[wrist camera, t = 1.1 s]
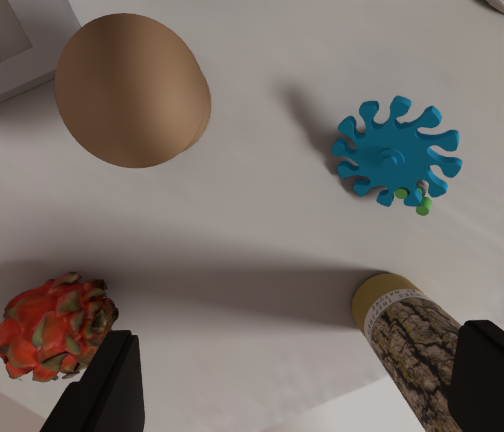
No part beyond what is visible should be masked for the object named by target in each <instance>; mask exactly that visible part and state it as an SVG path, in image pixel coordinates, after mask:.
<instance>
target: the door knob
mask: <svg viewBox="0 0 504 432" xmlns="http://www.w3.org/2000/svg"><path fill="white" fill-rule="evenodd" d="M54 85H55V96H56V101H57V106H58V109H59V112H60V115H61V117H62V119H63V121H64V123H65V125H66V127H67V128H68V130H69V132H70V133H71V134H72V136H73V137H74V138H75V139H76V141H77V142H78V143H79V144H80V145H81V146H82V147H83V148H85V149H86V150H87V151H88V152H90V153H91V154H92V155H94V156H96V157H97V158H99V159H101V160H103V161H105V162H108V163H110V164H113V165H117V166H121V167H126V168H146V167H151V166H156V165H158V164H161V163H164V162H166V161H168V160H170V159H172V158H173V157H175V156H176V155H178V154H179V153H181V152H183V151H184V150H186V149H188V148H189V147H191V146H192V145H193V144H194V143H195V142H196V141H197V140H198V139H199V138H200V137H201V135H202V134H203V132H204V131H205V129H206V126H207V124H208V121H209V118H210V112H211V96H210V91H209V87H208V85H207V82H206V80H205V78H204V76H203V74H202V72H201V70H200V67H199V65H198V63H197V61H196V59H195V57H194V55H193V54H192V52H191V51H190V49H189V48H188V46H187V45H186V44H185V43H184V42H183V40H182V39H181V38H180V37H179V36H178V35H177V34H175V33H174V32H173V31H172V30H171V29H169V28H168V27H166V26H165V25H163V24H161V23H159V22H157V21H156V20H153V19H151V18H148V17H145V16H141V15H136V14H127V13H120V14H111V15H106V16H103V17H100V18H97V19H94V20H93V21H91V22H89V23H87V24H85V25H84V26H83V27H82V28H80V29H79V30H78V31H77V32H76V33H75V34H74V35H73V36H72V37H71V38H70V39H69V41H68V42H67V44H66V45H65V47H64V49H63V51H62V53H61V55H60V57H59V60H58V63H57V67H56V72H55V84H54Z"/></svg>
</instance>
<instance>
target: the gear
mask: <svg viewBox="0 0 504 432" xmlns="http://www.w3.org/2000/svg"><path fill="white" fill-rule="evenodd" d="M410 106H411V101H410V100H409V99H407V98H405V97H401V96H396V97H395V98H394V99H393V101H392V103H391V105H390V117H389V119H388V120H387V121H386V122H385V123H384V124H377V123H375V122H374V119H373V117H374V116H375V115H376V113H377V111H378V110H379V104H378V102H377V101H367V102H363V103H362V105H361V106H360V108H359V114H360V115H361V117H362V118H363V120H364V122H365V125H366V134H360V133H358V132H357V130H356V120H355V118H354V117H353V116H348V117H347V118H345V119H344V120H343V121H342V122H341V123H340V124H339V126H338V130H339V131H340V132H341V133H342V134H345V135H346V136H348V137H349V138H350V139H351V140H352V141H353V143H354V144H355V146H356V148H357V149H355V150H354V149H351V148H350V147H349V146H348V144H347V142H346V141H345V140H344V139H342V138H338V139H337V141H336V142H335V144H334V145H333V147H332V151H331V153H332V154H333V155H335V156H344V157H348V158H350V159H352V160H353V161H355V162H356V163H357V164H358V165H359V166H354V165H352V164H351V163H349V162H347V161H342V162H340V164H339V166H338V174H339V176H340V177H341V178H347V177H349V176H352V175H360V176H365V177H368V178H369V179H370V181H367V180H362V179H360V180H357V181H356V182H355V184H354V186H353V189H354V191H355V192H356V193H357V194H358V195H359V196H364V195H366V193H367V192H368V190H370V189H371V188H373V187H377V186H385V187H387V188H388V189H387V190H383V191H381V192H380V193H379V195H378V197H377V200H376V201H377V202H378V203H380V204H382V205H384V206H387V207H389V206H390V205H391V203H392V201H393V199H394V192H395V196H396V197H397V198H400V199H404V204H405V205H406V206H417V208H416V212H417V214H419V215H422V216H425V215H427V214H428V213H429V210H430V207H431V204H432V201H431V199H430V198H428V197H424V196H425V194H426V191H427V185H426V183H425V181H427V182H428V183H429V189H428V193H429V195H430V196H431V197H438V196H440V195H443V194H445V193H446V191H447V187H448V186H447V183H446V182H445V181H443V180H441V179H439V178H438V177H436V176H435V175H434V174H433V172H432V171H431V169H430V165H438V166H439V167H440V168H441V169H442V172H443V174H444V175H445V176H447V177H450V178H453V177H454V176H456V175H457V173H458V172H459V170H460V168H461V166H462V160H460V159H459V158H455V157H445V156H441V155H439V154H437V153H436V152H434V151H433V150H431V149H430V146H432V145H437V146H440V147H441V148H442V149H444V150H446V151H455V150H456V149H457V146H458V143H459V133H458V131H457V130H449V131H447V132H445V133H442V134H438V135H427V134H421V133H420V132H418V130H417V128H419V127H426V128H434V127H436V126H438V125H439V124H440V122H441V119H442V116H441V114H440V112H439V111H438V110H437V109H436V108H435V107H434V106H430V107H428V108H426V109H425V111H424V112H423V114H422V115H421V116H420V117H419V118H418V119H416V120H414V121H412V122H409V123H408V122H404V123H402V124H400V123H399V122H397V120H396V118H397V117H400V116H403V115H405V114H406V113H407V112H408V110H409V108H410ZM424 180H425V181H424Z"/></svg>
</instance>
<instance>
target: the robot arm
mask: <svg viewBox="0 0 504 432" xmlns="http://www.w3.org/2000/svg"><path fill="white" fill-rule="evenodd" d="M486 1H487V2H488V3H489V4H490V5H491V6H493V7H494V8H496V9H497V10H499V11H500V12H503V13H504V0H486ZM447 406H448V411H449V413H450V415H451V417H452V418H453V419H454V421H455V422H456V423H457V425H458V426H459V427H460V429H461V430H462V431H463V432H504V331H503V330H502V329H500V328H499V327H498V326H497V325H495V324H494V323H493V322H491V321H489V320H468V321H466V322H465V323H464V326H461V327H460V328H459V332H458V339H457V345H456V351H455V357H454V363H453V369H452V376H451V382H450V388H449V394H448V400H447ZM144 423H145V411H144V399H143V387H142V374H141V362H140V350H139V339H138V336H137V335H132V333H131V331H130V330H114V331H108V333H107V334H106V336H105V338H104V339H103V341H102V343H101V345H100V346H99V348H98V350H97V352H96V353H95V355H94V357H93V358H92V360H91V362H90V364H89V365H88V367H87V369H86V371H85V372H84V374H83V376H82V377H81V379H80V381H79V382H72V383H70V384H69V385H68V386H67V388H66V389H65V391H64V392H63V394H62V396H61V397H60V399H59V401H58V402H57V404H56V405H55V407H54V409H53V410H52V412H51V414H50V415H49V417H48V418H47V420H46V422H45V423H44V425H43V427H42V428H41V430H40V432H143V429H144Z"/></svg>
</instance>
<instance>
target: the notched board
mask: <svg viewBox="0 0 504 432" xmlns="http://www.w3.org/2000/svg"><path fill="white" fill-rule="evenodd" d="M8 2H9V4H10V6H11V8H12V9H13V11H14V13H15V15H16V17H17V19H18V21H19V22H20V24H21V26H22V28H23V30H24V32H25V34H26V35H27V37H28V39H29V41H30V43H31V45H32V48H30V49H27V50H25V51H23V52H21V53H19V54H16V55H14V56H12V57H10V58H8V59H6V60H3V61H1V62H0V103H1V102H3V101H5V100H7V99H10V98H12V97H14V96H16V95H18V94H21V93H23V92H25V91H27V90H29V89H32V88H34V87H36V86H38V85H40V84H43V83H45V82H47V81H49V80H51V79H54V78H55V72H56V67H57V63H58V60H59V57H60V55H61V53H62V51H63V49H64V47H65V45H66V44H67V42H68V41H69V39H70V38H71V37H72V36H73V35H74V34H75V33H76V32H77V31H78V30H79V29H80V28H81V26H80V24H79V22H78V20H77V18H76V16H75V14H74V12H73V10H72V8H71V6H70V4H69V2H68V0H8Z"/></svg>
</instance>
